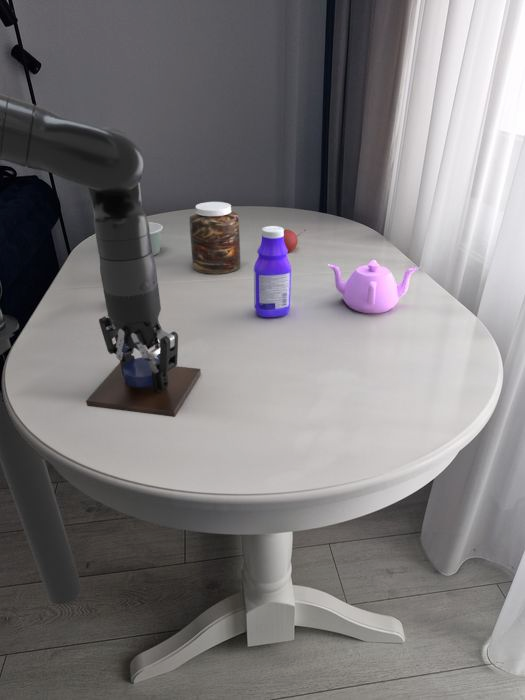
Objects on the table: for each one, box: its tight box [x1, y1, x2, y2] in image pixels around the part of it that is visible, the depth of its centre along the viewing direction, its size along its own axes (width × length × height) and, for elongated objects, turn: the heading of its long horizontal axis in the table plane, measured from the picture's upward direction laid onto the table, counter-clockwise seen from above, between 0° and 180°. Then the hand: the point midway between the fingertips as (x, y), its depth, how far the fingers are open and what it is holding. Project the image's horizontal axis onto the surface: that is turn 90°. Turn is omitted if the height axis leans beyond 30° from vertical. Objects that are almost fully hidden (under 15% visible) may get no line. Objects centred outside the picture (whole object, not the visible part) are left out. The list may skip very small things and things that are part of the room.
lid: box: [123, 356, 160, 387], centre depth 79 cm, size 6×6×2 cm
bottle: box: [253, 225, 292, 318], centre depth 100 cm, size 7×6×17 cm
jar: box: [189, 201, 241, 275], centre depth 124 cm, size 12×12×15 cm
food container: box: [148, 221, 164, 256], centre depth 137 cm, size 12×12×6 cm
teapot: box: [327, 259, 419, 314], centre depth 105 cm, size 12×14×9 cm
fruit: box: [284, 229, 306, 253], centre depth 137 cm, size 6×6×8 cm
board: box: [85, 362, 202, 418], centre depth 80 cm, size 14×12×1 cm
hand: (145, 383), depth 80 cm, fingers closed on lid, 5 cm apart
